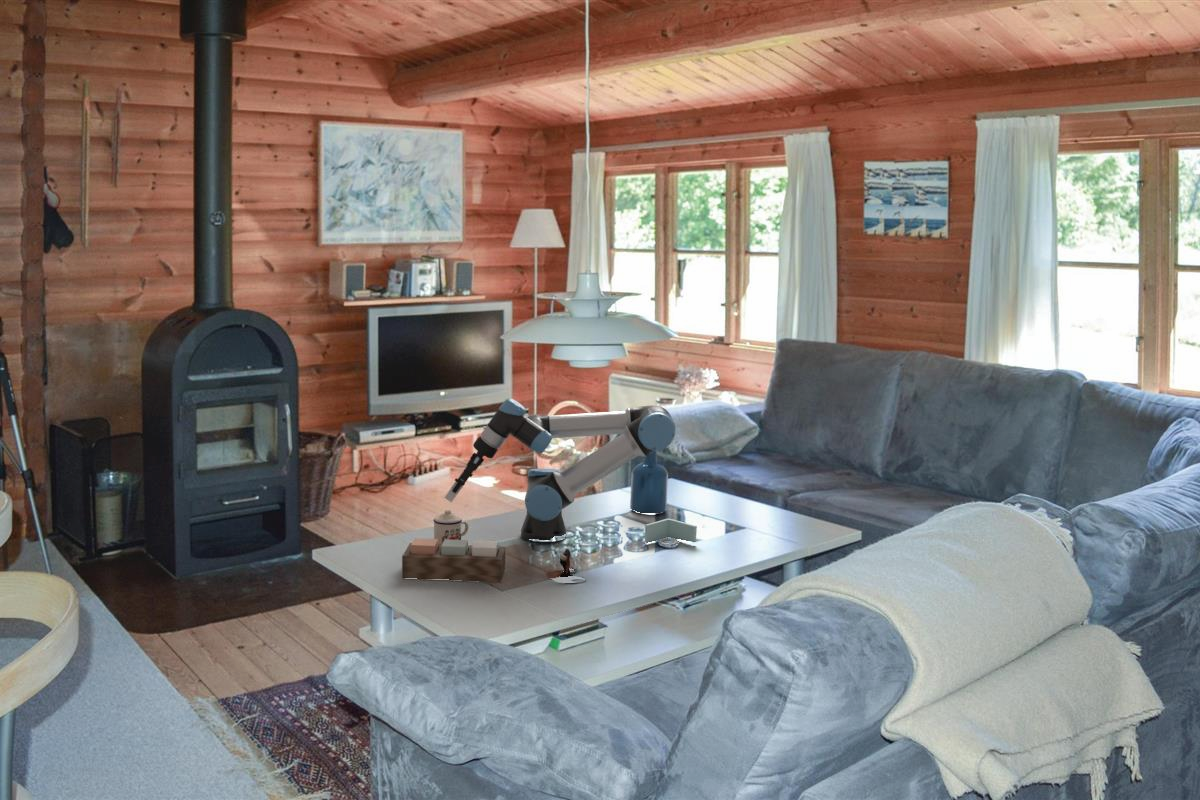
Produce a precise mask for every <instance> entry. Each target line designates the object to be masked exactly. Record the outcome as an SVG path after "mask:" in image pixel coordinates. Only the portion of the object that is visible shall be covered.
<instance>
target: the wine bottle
mask: <svg viewBox="0 0 1200 800" xmlns="http://www.w3.org/2000/svg"><path fill="white" fill-rule="evenodd" d="M643 457H644V456H643ZM630 475H631V480H630V500H629V501H630V503H629V507H630V510H631V509H632V510H635V511H637V512H640V513H661V512H664V511H665V510H666V511H667V508H668V507H667V504H668V486H669V485H668V482H669V481H668V480H669V472H668V470H667V468H666V467H665V465H664V464H663V463H662V462H660V461H658V460H657V451H654V452H652V453H651V454H649V455H648V456H646V457H644V459H643V462H640V463H638V464H637V465H635V466H634V467H633V469H632V471H631V474H630ZM632 510H631V511H632ZM666 511H665V512H666ZM665 512H664V513H665Z"/></svg>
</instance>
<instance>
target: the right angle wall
mask: <svg viewBox="0 0 1200 800" xmlns="http://www.w3.org/2000/svg"><path fill="white" fill-rule="evenodd" d="M697 528H698V526H697V525H695V524H692V523H687V522H685V521H684V522H683V521H680V520H676V519H673V518H664V519H661V520H658V521H654V522H651V523H647V524H645V525H644V543H645V542H646V543H648V542H652V541H656V540H659V539H662V540H660V541H658V543H660V544H662V545H676V544H678V542H679V541H677V540H674V539H668V538H667V539H663V538H666V537H671V538H675V539H681V540H686V541H692V542H696V543H697V533H698V532H697V531H698V530H697ZM664 541H673V543H672V544H670V543H664ZM658 543H657V544H658ZM678 545H679V544H678Z"/></svg>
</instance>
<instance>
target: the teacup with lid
mask: <svg viewBox="0 0 1200 800" xmlns="http://www.w3.org/2000/svg"><path fill="white" fill-rule="evenodd" d="M463 524H464V527H465V528H464V530H463V532H462V525H463ZM468 530H469V523H467V522H466V521H464V520H463V519H462V517H461V516H460V515H458V514H455V513H453V512H452V511H451V509H446V510H445V511H444V512H443V513H441V514H439V515H436V516H435V517H434V518H433V539H438V544H443V542H444V540H445V539H450V540H462V538H463V536H465V535H466V534H467V532H469V531H468Z"/></svg>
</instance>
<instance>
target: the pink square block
mask: <svg viewBox="0 0 1200 800" xmlns="http://www.w3.org/2000/svg"><path fill="white" fill-rule="evenodd" d="M411 543H412V544H411V554H434V555H436V553H437V551H438V539H434V538H421V537H420V538H417V537H416V538H415V537H414V539H413V540H412V542H411Z"/></svg>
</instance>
